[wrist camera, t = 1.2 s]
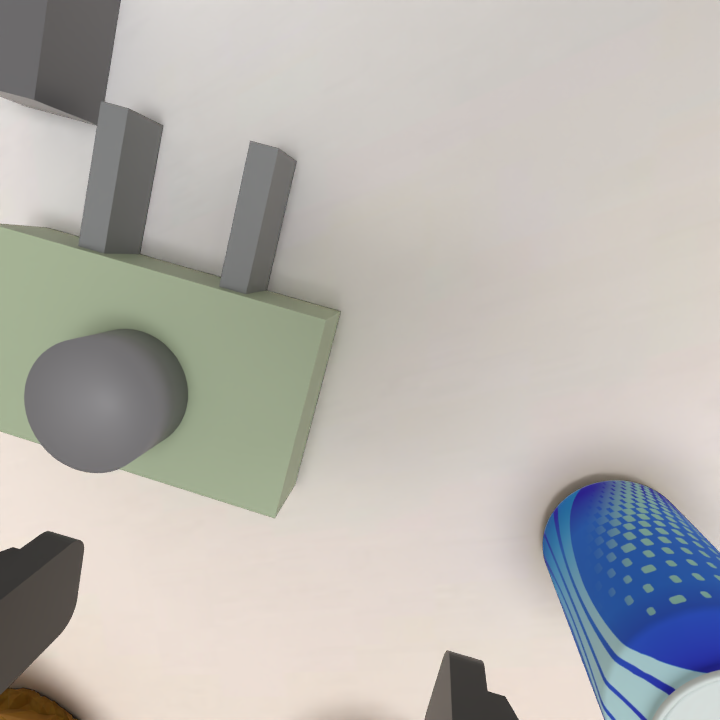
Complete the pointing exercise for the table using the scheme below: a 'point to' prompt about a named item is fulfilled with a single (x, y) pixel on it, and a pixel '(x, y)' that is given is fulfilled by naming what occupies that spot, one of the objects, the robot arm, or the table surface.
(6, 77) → the grey rectangular box
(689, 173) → the table surface
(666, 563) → the beer can
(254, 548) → the table surface
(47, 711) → the pitcher
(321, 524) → the table surface
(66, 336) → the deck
